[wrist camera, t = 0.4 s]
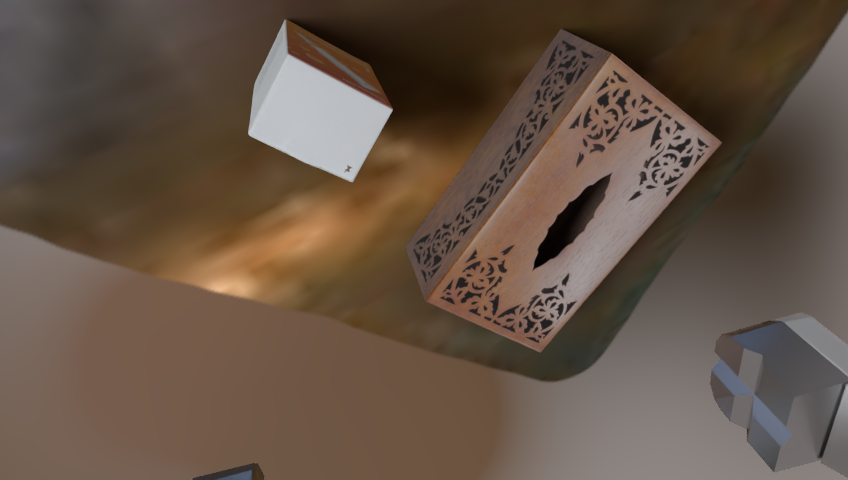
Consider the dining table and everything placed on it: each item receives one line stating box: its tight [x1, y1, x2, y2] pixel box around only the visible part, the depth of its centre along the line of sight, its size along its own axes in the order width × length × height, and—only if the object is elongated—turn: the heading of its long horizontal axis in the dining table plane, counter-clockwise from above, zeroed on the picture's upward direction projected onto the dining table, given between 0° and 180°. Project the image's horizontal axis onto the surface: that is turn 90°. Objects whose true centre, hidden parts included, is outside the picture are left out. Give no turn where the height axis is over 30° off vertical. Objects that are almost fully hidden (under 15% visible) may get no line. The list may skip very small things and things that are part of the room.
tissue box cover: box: [406, 29, 722, 352], centre depth 57 cm, size 26×14×10 cm, turn 145°
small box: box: [248, 19, 393, 182], centre depth 46 cm, size 8×6×13 cm
